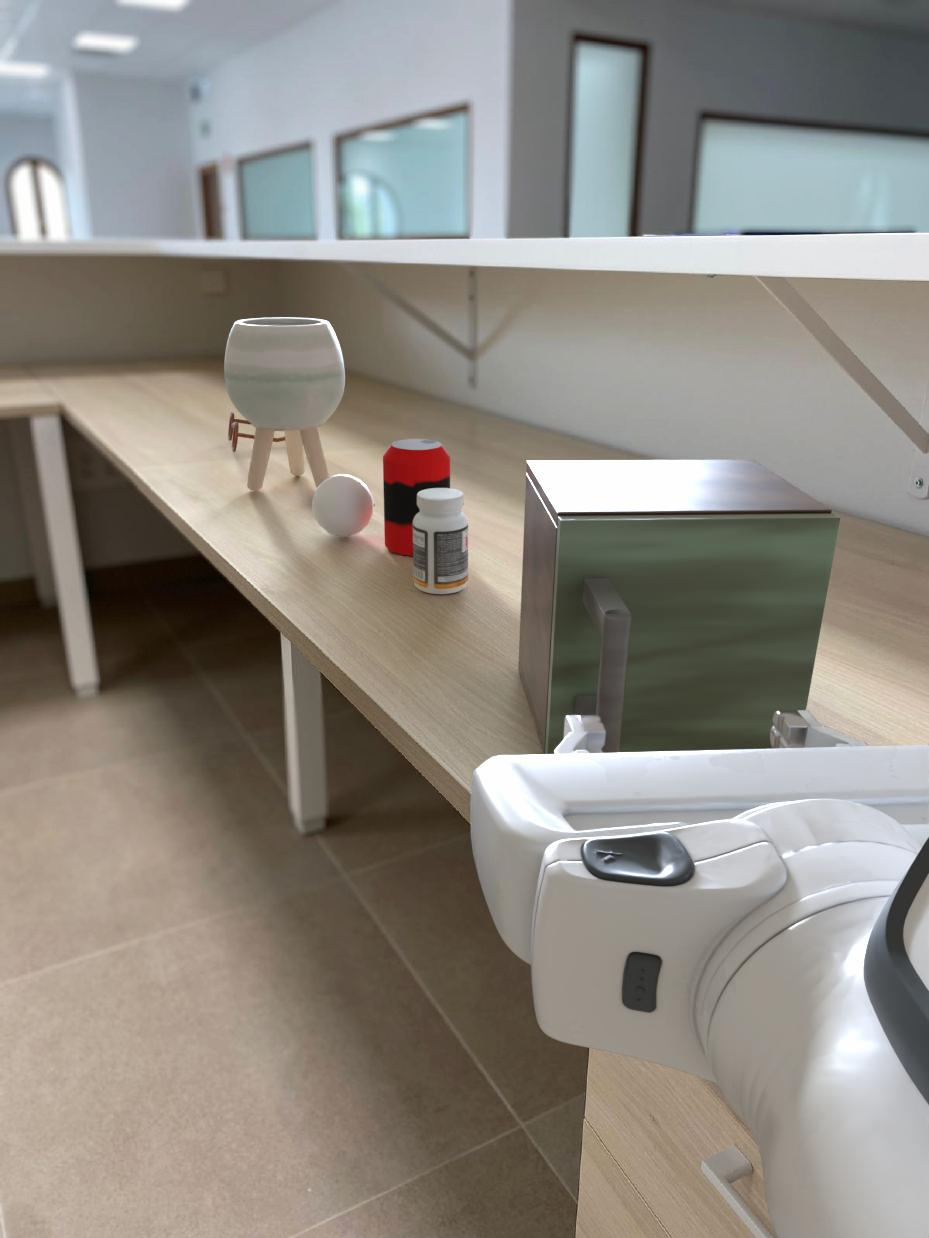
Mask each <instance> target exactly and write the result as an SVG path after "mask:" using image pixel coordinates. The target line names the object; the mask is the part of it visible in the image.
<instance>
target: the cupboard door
mask: <svg viewBox="0 0 929 1238" xmlns="http://www.w3.org/2000/svg"><path fill="white" fill-rule="evenodd" d="M840 522H841V517H840V516H839V515H837V514H836V513H833V512H832V513H829V514H721V515H612V516H558V528H557V546H556V564H555V582H554V600H553V618H552V636H551V654H550V672H549V690H548V708H547V726H546V744H545V754H554V750H555V749H556V748H557V746H558V745H559V744H560V743H561V742H562V741H563V738H564V724H565V717H566V715H599V716H600V718H601V721H600V722H601V723H603V725H604V727H605V729H606V740H605V745H604V746H603V748H602V749H603V752H604V753H619V752H659V751H698V750H737V749H773V747H772V746H771V743H770V738H769V734H770V729H771V728H772V727H773V725H774V723H773V722H772V716H773V713H774V712H776V711H794V710H797V711H798V710H807V708H808V701H809V696H810V692H811V691H810V690H811V684H812V679H813V673H814V667H815V663H816V656H817V651H818V646H819V640H820V636H821V633H820V632H821V629H822V624H823V619H824V613H825V608H826V607H825V606H826V601H827V596H828V595H827V594H828V590H829V586H830V579H831V573H832V568H833V564H834V563H833V562H834V557H835V551H836V546H837V539H838V534H839V530H840V529H839V528H840V525H841V524H840Z"/></svg>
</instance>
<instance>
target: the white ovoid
mask: <svg viewBox="0 0 929 1238" xmlns="http://www.w3.org/2000/svg"><path fill="white" fill-rule="evenodd" d="M329 477H330V478H328V479H326V480H324V481H323V482H322V483H321V484H320V485H319V486H318V488H317V487H316V489H315V492H314V494H313V495H312V501H311V502H312V503H311V508H312V509H311V510H312V514H313V517H314V519H315V520H316V522H317V523H318V525H319V526H320V527H321V528H322V529H323V530H324V531H325V532H327V533H329V534H331V535H334V536H336V537H337V536H338V537H350V536H351V537H352V536H353V535H356V534H359V533H360V532H361V531H363V530H364V529H365V528H367V526H368V525H369V523H370V522H371V520H372V517H373V515H374V508H375V507H376V504H375V503H374V497H373V494H372V493H371V490H370V488H369V487H368V486H367V484H365V483H364V482H363V481H362V480H361V479H360V478H358V477H356V476H353V475H350V474H346V473H345V474H334V475H332V476H329Z"/></svg>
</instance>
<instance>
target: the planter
mask: <svg viewBox="0 0 929 1238" xmlns="http://www.w3.org/2000/svg"><path fill="white" fill-rule="evenodd" d="M224 352H225V354H224V364H223V371H224V382H225V387H226V392H227V395H228V397H229V400H230V401H231V403H232V406H234V408H235V410H237V412H238V413H239V414H240V415H241V416H242V417H243V418H244V420H247V421H249V422H250V423H251V424H252V425H251V426H252V427H254V428H255V430H254V431H255V432H254V435H255V437H254V439H253V444H252V450H251V451H252V452H251V456H250V457H251V458H250V463H249V469H248V475H247V481H246V482H247V484H246V486H247V489H249V490H250V491H256V492H257V491H259V490H261V489H262V488H263V485H264V482H265V476H266V473H267V469H268V464H269V460H270V456H271V451H272V446H273V438H275V432H284V437H285V441H284V442H285V446H286V447H285V449H286V453H287V460H288V467H289V472H290V474H291V475H293V476H295V477H299V476H302V475H304V474H305V456H306V460H307V463H308V465H309V469H310V473H311V475H312V479H313V482H314V484H315V487H316V489H317V488H318V486H319V485H320V484H321V483H322V482H323V481H324V480H326V479H328V478H330V477H331V476H330V474H329V470H328V466H327V461H326V457H325V453H324V449H323V445H322V441H321V436H320V431H319V428H320V427H323V426H324V425H325V424H326V423H325V422H327V421H328V419H330V418H331V417H332V415H333V414H334V413H335V411H336V410H337V408H338V407H339V405H340V403H341V401H342V399H343V396H344V392H345V385H346V370H345V361H344V356H343V353H342V348H341V345H340V342H339V340H338V337H337V335H336V332H335V330H334V328H333V326H332V325H331V323H330V322H329V321H328V320H325V319H320V318H312V317H311V318H310V317H291V316H290V317H288V316H287V317H284V316H283V317H282V316H278V317H276V316H275V317H256V318H246V319H245V318H244V319H238V320H236V321H235V322H234V323H233V325H232V327H231V329H230V332H229V334H228V338H227V342H226V347H225V351H224ZM304 452H305V454H304ZM304 455H305V456H304Z"/></svg>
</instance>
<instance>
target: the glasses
mask: <svg viewBox="0 0 929 1238" xmlns="http://www.w3.org/2000/svg"><path fill="white" fill-rule="evenodd" d="M228 422H229V423H228V428H227V429H228V430H227V439H228V441H230V442H231V451H232V452H234V453H235V452H236V451H237V447H238V440H239V438H244V439H245V438H246V439H252V440H254V437H255V434H251V433H246V432H245V433H244V432H239V429H240V428H239V424H243V425H251V426H252V424H251V423H250V422H249V421H247V420H246V419H242V418H235V412H234V411H233V412H230V415H229V421H228ZM273 442H274V443H279V442H286V441H285V436H280V437H273ZM273 442H272V443H273Z"/></svg>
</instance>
